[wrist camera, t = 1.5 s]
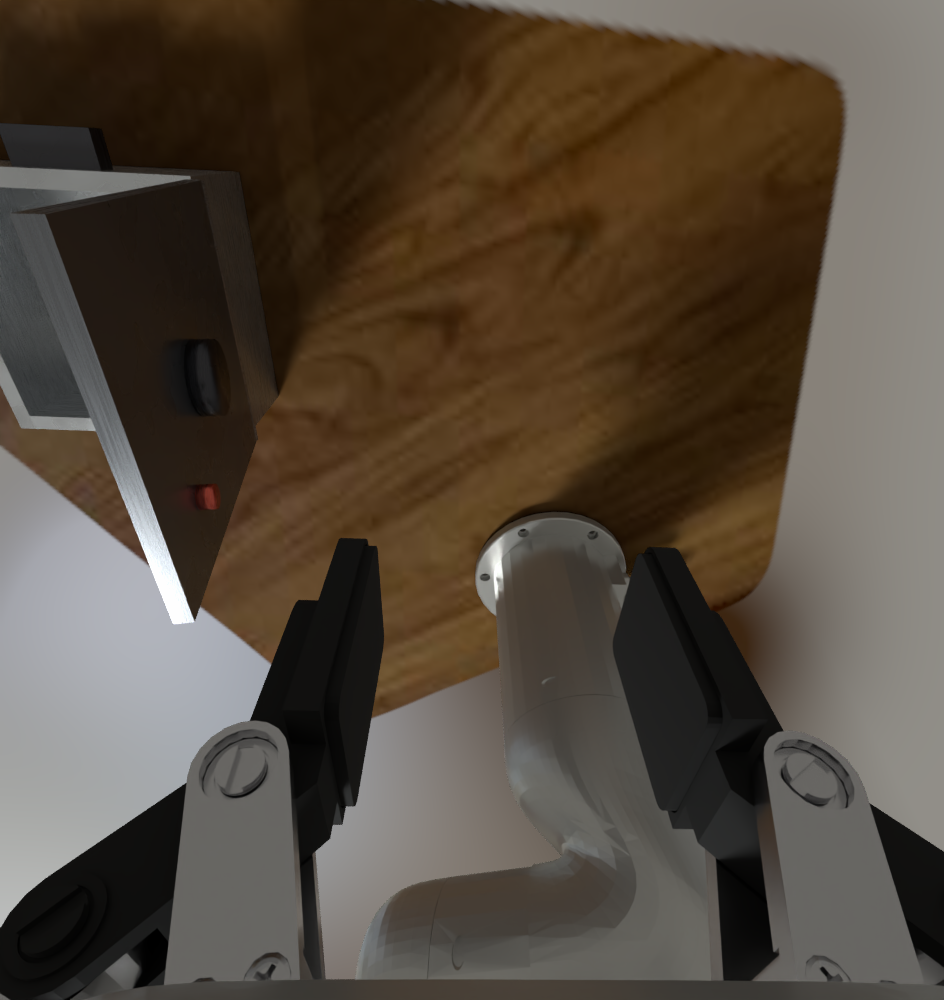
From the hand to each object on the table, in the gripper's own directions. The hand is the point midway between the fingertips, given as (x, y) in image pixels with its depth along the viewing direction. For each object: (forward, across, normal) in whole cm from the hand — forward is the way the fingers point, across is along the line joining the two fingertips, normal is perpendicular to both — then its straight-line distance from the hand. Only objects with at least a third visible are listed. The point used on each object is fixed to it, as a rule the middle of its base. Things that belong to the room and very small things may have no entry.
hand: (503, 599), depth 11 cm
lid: (+12, +12, 0) cm, 17 cm away
